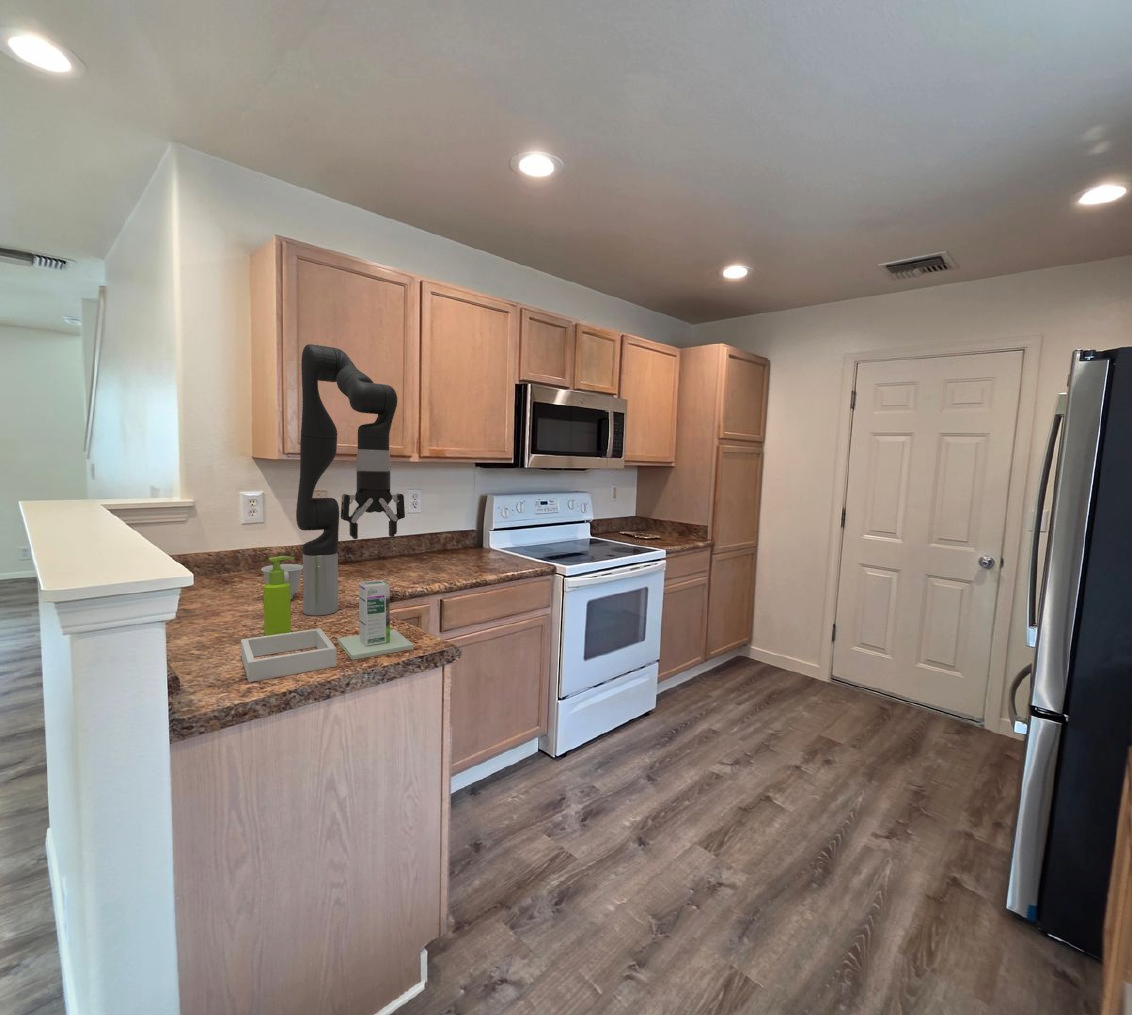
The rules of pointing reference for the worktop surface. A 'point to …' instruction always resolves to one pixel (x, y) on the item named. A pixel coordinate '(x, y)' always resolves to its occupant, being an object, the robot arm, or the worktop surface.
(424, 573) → the worktop surface
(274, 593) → the soap dispenser
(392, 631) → the board
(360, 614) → the syrup box
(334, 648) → the gray square frame
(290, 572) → the teacup
